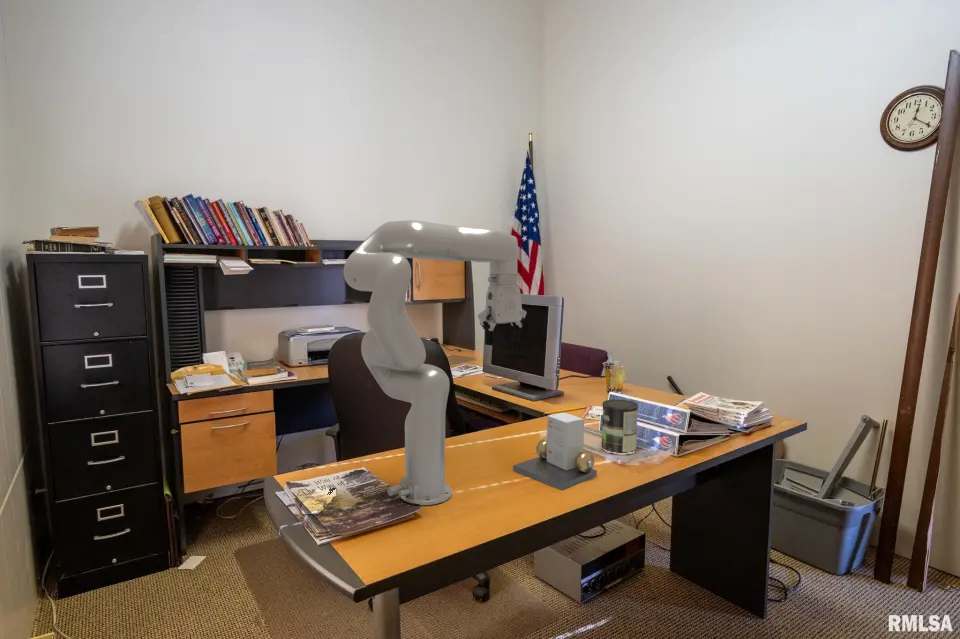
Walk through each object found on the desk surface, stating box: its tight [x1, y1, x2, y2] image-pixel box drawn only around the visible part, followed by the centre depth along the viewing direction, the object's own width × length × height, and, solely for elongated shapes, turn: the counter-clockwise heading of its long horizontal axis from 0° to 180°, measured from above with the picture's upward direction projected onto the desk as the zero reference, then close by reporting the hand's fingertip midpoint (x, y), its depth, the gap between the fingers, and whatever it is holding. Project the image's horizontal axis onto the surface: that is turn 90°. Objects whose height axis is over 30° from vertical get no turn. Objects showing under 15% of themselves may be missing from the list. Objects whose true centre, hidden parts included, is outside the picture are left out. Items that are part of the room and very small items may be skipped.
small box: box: [546, 412, 585, 470], centre depth 152 cm, size 8×6×13 cm
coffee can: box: [601, 398, 639, 453], centre depth 169 cm, size 10×10×14 cm
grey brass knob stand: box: [512, 438, 598, 491], centre depth 150 cm, size 14×18×6 cm
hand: (502, 343), depth 156 cm, fingers open, 9 cm apart
